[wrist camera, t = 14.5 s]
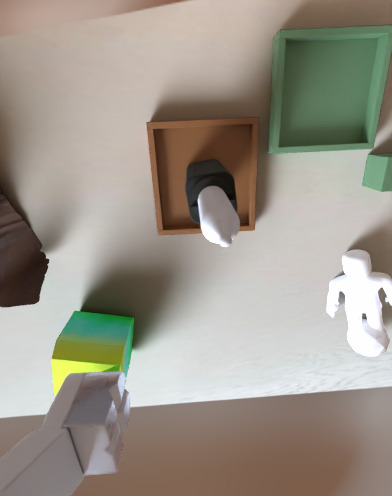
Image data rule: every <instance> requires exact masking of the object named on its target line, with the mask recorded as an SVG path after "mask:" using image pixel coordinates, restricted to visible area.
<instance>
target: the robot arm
mask: <svg viewBox="0 0 392 496" xmlns="http://www.w3.org/2000/svg"><path fill="white" fill-rule="evenodd" d="M125 383H126V378H125V374H124V372H122V371H117V372H88V373H70V374H69V375H68V376H67V377H66V378H65V380H64V382H63V383H62V385H61V387H60V389H59V391H58V393H57V395H56V397H55V399H54V401H53V403H52V405H51V407H50V409H49V411H48V413H47V415H46V417H45V419H44V421H43V423H42V425H41V427H40V429H37V430H33V431H32V432H31V433H29V434H28V435H27V436H26V437H25V438H23V439H22V440H21V441H20V442H19V443H18V444H16V445H15V446H14V447H13V448H12V449H11V450H10V451H8V453H6V454H5V455H4V456H3V457H1V458H0V496H71V495H72V494H73V492H74V491H75V489H76V488H77V487H78V485H79V484H80V483H81V482H82V480H83V479H84V475H95V474H107V473H118V468H119V463H120V459H121V454H122V450H123V441H122V436H121V435H122V434H123V432H124V431H125V430H126V429H127V426H128V421H129V411H130V398H129V393H128V391H127V390H125V389H124V388H125Z"/></svg>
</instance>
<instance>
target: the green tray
mask: <svg viewBox="0 0 392 496" xmlns="http://www.w3.org/2000/svg"><path fill="white" fill-rule="evenodd" d="M391 53H392V25H375V26H355V27H334V28H313V29H293V30H280V31H279V32H278V33H277V34H276V35H275V36H274V40H273V60H272V79H271V98H270V118H269V137H268V152H269V153H272V154H278V153H298V152H318V151H338V150H358V149H373V147H374V142H375V137H376V132H377V127H378V121H379V116H380V111H381V106H382V100H383V95H384V90H385V85H386V79H387V74H388V69H389V64H390V58H391Z"/></svg>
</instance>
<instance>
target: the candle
mask: <svg viewBox="0 0 392 496" xmlns="http://www.w3.org/2000/svg"><path fill="white" fill-rule="evenodd" d="M185 192H186V197H187V202H188V208H189V213H190V217H191V219H192V220H193V221H194V222H195V223H198V224H201V229H202V232H203V234H204V236H205V237H206V238H207V239H208V240H209V241H211V242H213V243H217V244H220V245H221V246H223V247H228V246H230V245H231V243H232V239H233V238H234V237H235V236H236V235H237V233H238V231H239V228H240V220H239V217H238V215H237V210H238V206H237V198H236V189H235V181H234V178H233V176H232V175H231V174H230V173H229V171H228V170H227V169H226V168H225V167H224V166H223V165H222V164H221V163H220V162H219V161H218V160H216V159H210V160H205V161H199V162H194V163H191V164H189V165H188V166H187V169H186V180H185Z"/></svg>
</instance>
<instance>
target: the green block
mask: <svg viewBox="0 0 392 496" xmlns="http://www.w3.org/2000/svg"><path fill="white" fill-rule="evenodd" d="M362 186H365V187H368V188H371V189H374V190H378V191H381V192H384V191H392V153H385V154H368V157H367V163H366V168H365V173H364V179H363V184H362Z"/></svg>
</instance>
